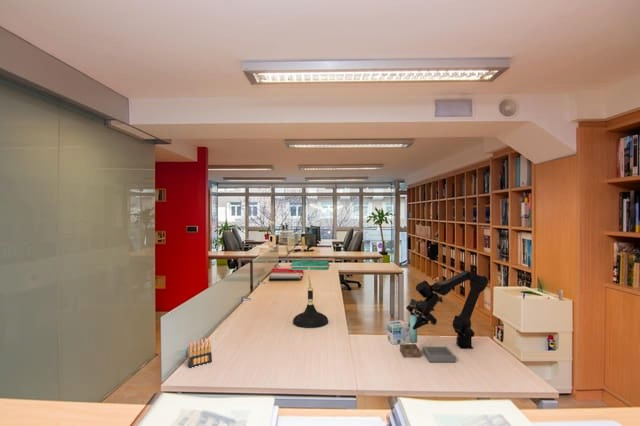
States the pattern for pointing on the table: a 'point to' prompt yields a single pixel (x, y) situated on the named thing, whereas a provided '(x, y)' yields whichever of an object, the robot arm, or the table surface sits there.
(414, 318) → the dowel
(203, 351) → the ammunition clip
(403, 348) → the socket block
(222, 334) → the table surface
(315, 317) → the banker's lamp
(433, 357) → the tray
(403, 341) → the light bulb box
